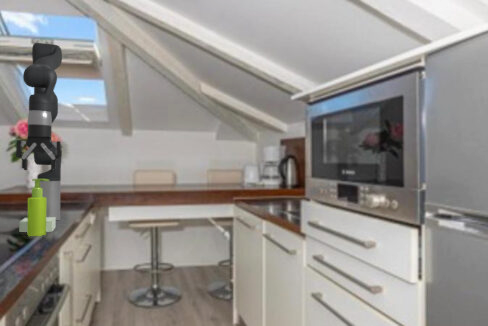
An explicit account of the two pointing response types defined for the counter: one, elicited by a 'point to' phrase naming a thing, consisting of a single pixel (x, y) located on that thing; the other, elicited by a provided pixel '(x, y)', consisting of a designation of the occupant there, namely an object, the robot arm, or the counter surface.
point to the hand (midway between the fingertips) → (39, 170)
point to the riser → (49, 224)
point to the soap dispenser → (37, 211)
